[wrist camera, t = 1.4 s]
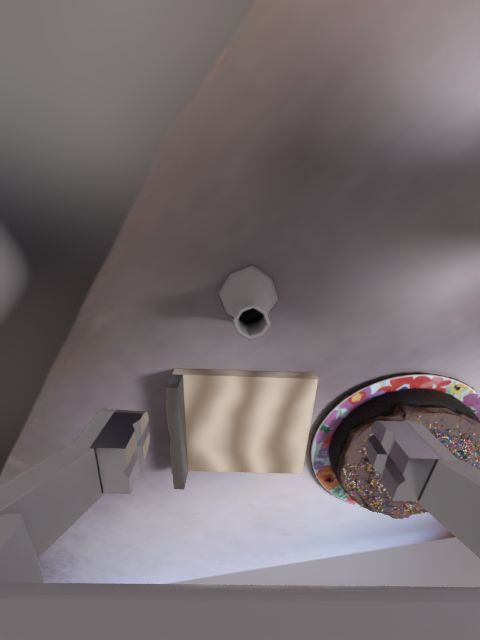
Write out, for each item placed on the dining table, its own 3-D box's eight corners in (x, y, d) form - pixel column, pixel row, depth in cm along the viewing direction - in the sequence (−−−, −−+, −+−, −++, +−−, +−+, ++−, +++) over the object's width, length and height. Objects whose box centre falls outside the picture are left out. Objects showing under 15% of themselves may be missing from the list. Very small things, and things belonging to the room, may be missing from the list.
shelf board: (314, 372, 34) (325, 392, 30) (299, 465, 40) (306, 492, 36) (172, 368, 34) (162, 387, 30) (179, 461, 40) (172, 488, 36)
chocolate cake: (288, 488, 43) (296, 531, 36) (343, 352, 33) (366, 379, 27) (432, 511, 45) (463, 555, 38) (522, 387, 35) (582, 420, 29)
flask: (244, 332, 32) (245, 373, 23) (208, 291, 30) (193, 317, 21) (288, 299, 30) (309, 328, 21) (253, 254, 29) (259, 263, 19)
